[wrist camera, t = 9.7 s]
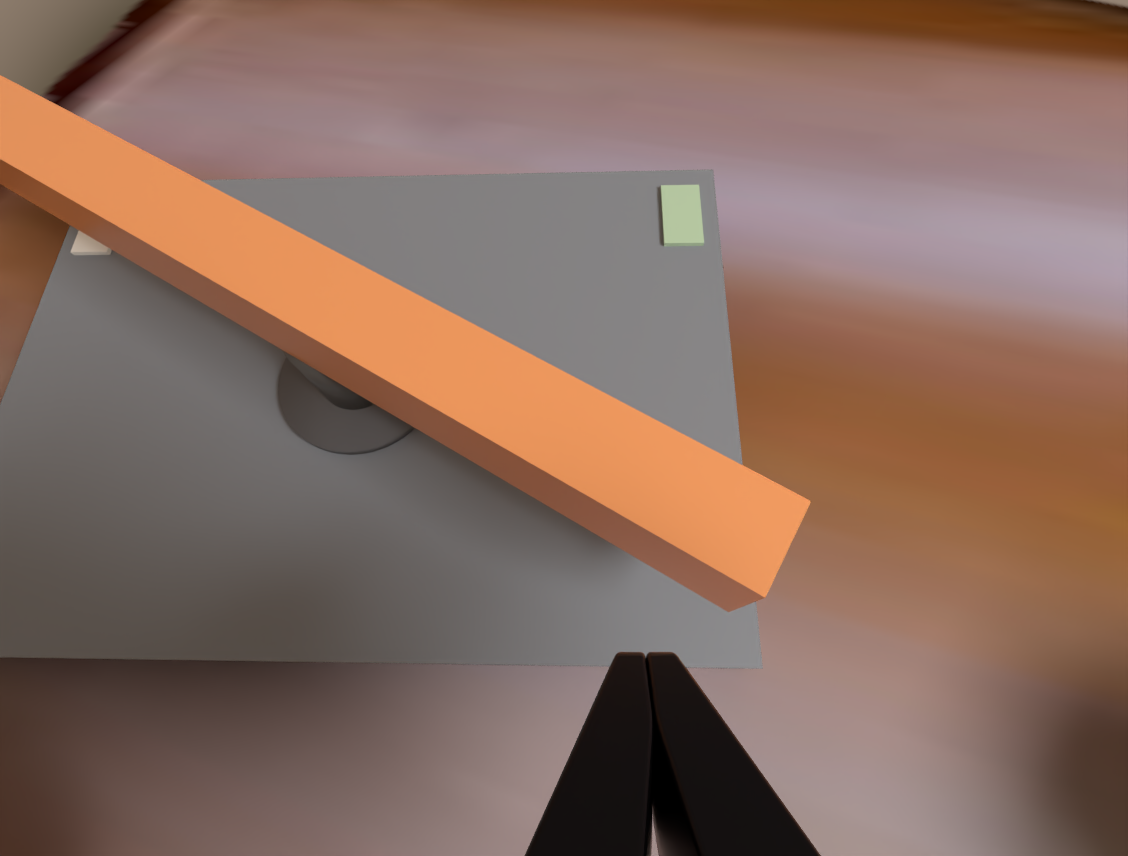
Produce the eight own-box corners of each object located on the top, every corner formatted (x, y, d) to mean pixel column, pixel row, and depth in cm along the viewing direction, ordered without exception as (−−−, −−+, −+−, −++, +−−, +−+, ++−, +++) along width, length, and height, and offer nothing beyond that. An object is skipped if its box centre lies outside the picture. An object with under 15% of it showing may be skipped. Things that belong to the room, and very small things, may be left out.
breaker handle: (701, 627, 19) (761, 606, 13) (69, 247, 26) (-112, 102, 19) (740, 551, 20) (814, 493, 13) (117, 202, 27) (-41, 47, 20)
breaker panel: (744, 668, 21) (766, 668, 18) (-29, 656, 22) (-111, 655, 20) (703, 208, 28) (714, 162, 26) (124, 219, 30) (79, 175, 27)
